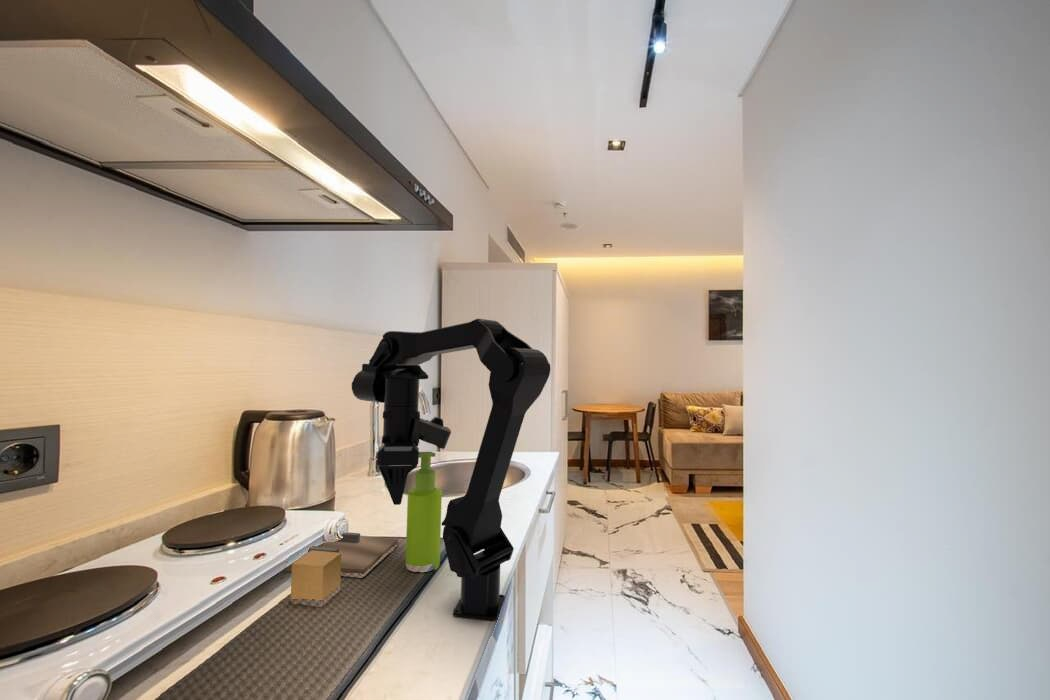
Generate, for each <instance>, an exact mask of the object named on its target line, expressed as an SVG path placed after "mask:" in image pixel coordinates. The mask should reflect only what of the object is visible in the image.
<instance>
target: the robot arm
mask: <svg viewBox="0 0 1050 700" xmlns="http://www.w3.org/2000/svg"><path fill="white" fill-rule="evenodd" d="M472 349H476V352H477V355H478V358H479V361H480V362H481V363H482V365H484V367H485V368H486V369H487V370H488V371H489V372H490V373H489V377H488V378H489V380H488V390H489V393H490V398H491V402H492V403H491V410H490V412H489V416H488V419H487V423H486V427H485V429H484V432H483V435H482V440H481V443H480V445H479V449H478V453H477V456H476V461H475V464H474V466H473V470H472V472H471V476H470V479H469V485H468V488H467V490H466V493H465V494H464V495H462V496H460V497H455V498H454V499H450V500H449V502H448V504H447V506H446V513H445V516H444V519H443V520H442V521H441V527H442V526H444V527H443V531H442V540H443V544H444V547H445V552H446V557H447V561H448V567H449V570H450V572H453V573H455V574H456V577H458V578H461V580H460V583H461V584H460V598H459V600H458V602H457V604H456V606H455V607H454V608H453V611H452V615H453V616H454V617H460V618H462V617H463V618H471V619H472V618H473V619H482V620H489V621H496V620H498V618H499V615H500V613H501V611H502V609H503V606H504V603H505V601H506V596H505V594H501V593H500V587H501V564H503V563H505V562H509V561H510V560H511V558H512V555H513V553H514V550H515V549H514V546H513V544H512V543H511V542H510V540H509V539H508V537H507V536H506V534H505V532H504V531H503V529H502V527H501V526H502V521H503V514H502V513H503V512H502V509H501V505H500V495H501V493H502V490H503V486H504V483H505V480H506V477H507V474H508V470H509V467H510V463H511V460H512V457H513V454H514V451H515V447H516V445H517V440H518V437H519V434H520V431H521V428H522V425H523V422H524V419H525V415H526V413H527V412H528V410H529V409H530V408H531V406H533V404H534V403H535V402H536V400H537V399H539V397H540V396H541V393H543V390H544V388H545V386H546V383H547V382H548V380H549V377H550V375H551V364H550V362H549V361H548V358H547V356H546V355H545V354H544V352H542V351H540V350H539V349H534V348H532V347H531V346H530V345H529V344H528V343H527V342H525V341H524V340H522V339H520V338H519V336H518V337H517V336H516V335H514V334H513V333H511V332H510V331H509V330H508V329H507V328H505V326H504V325H502V324H501V323H500V322H499V321H497V320H492V319H487V318H486V319H484V318H476V319H474V320H471V321H468V322H464V323H463V322H462V323H460V324H455V325H450V326H446V327H445V326H444V327H440V328H436V329H431V330H426V331H421V332H419V331H418V332H416V331H399V330H398V331H395V330H389V331H386V332H385V333H383V334H382V339H381V340H380V341H379V343H378V345H377V347H376V348H375V351H374V353H373V355H372V356H371V358H370V359H369V362H368V363H362V365H361V370H360V371H359V372H357V374H355V376H354V377H353V380H352V382H351V391H352V393H353V396H354V397H355V398H357V400H360V401H363V402H364V401H365V402H373V403H382V404H384V405H383V412H382V419H383V424H382V425H383V431H382V436H381V444H383V445H381V446H380V447H379V448H378V450H377V453H376V466H377V468H378V470H379V472H380V473H381V476H382V478H383V481H384V484H385V486H386V488H387V490H388V493H389V496H390V497H391V498H390V499H391V500H392V503H393V505H394V506H395V505H396V506H399V505H401V504H402V501H403V497H404V491H405V488H406V483H407V479H408V476H409V475H408V474H410V473H411V472H412V471H413V470H414V469H416V468H417V467H418V465H419V461H420V459H419V452H420V450H419V449H420V448H419V444H420V441H423V442H425V443H428V444H431V445H433V446H436V447H437V448H439V449H442V450H445V448H446V446H447V445H448V444H447V443H448V441H449V439H450V436H451V434H452V431H451V428H449V427H447V426H444V420H443V418H440V417H437V416H434V417H433V418H431V420H429V419H424V418H421V411H419V401H420V400H419V395H420V380H428V379H429V375H428V374H427V372H426V371H424V370H423V369H422V367H421V365H422V364H424V363H426V362H429V361H431V360H432V358H433V357H436V356H438V355H441V354H442V355H444V354H449V353H454V352H461V351H465V350H472Z"/></svg>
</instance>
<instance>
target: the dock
mask: <svg viewBox="0 0 1050 700" xmlns="http://www.w3.org/2000/svg"><path fill="white" fill-rule="evenodd" d="M345 532H346V533H343V534H342V536H343V538H342V539H341V540H338V541H335V542H326V543H323V544H321V545H319V546H317V547H316V546H312V547H310V548H309V550H308V552H310V551H312V550H314V551H325V552H336V553H341V572H343V573H344V572H345V573H359V574H360V573H361V574H364V573H365V572H366V571H367V570H368V569H370V568H371V567H372V566H373V565H374V564H375V563H376V562H377V561H378V560H379V559H380V558H381V557H382V556H383V555H384V554H385V553H387V552H388V551H389V550H390V549H391V548H392V547H394V546H395V545H396V544H397V543H398V544H399V538H391V537H381V536H370V535H368V536H367V535H361V533H358V532H348V531H345ZM284 570H285V572H289V573H292V565H290V566H289V567H288V568H287V569H286V568H285V569H284Z"/></svg>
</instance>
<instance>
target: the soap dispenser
mask: <svg viewBox="0 0 1050 700" xmlns="http://www.w3.org/2000/svg"><path fill="white" fill-rule="evenodd" d="M433 457H436V453H435V452H434V451H433V452H432V451H419V458H420V468H419V469H418V470H416V471H415V485H414V488H412V489H411V488H410V489H409V490H408V491H407V508H406V509H407V511H406V538H405V539H406V544H405V564H406V563H407V564H409V565H412V566H425V565H429V564H434V565H435V566H436V567H435V570H434V571H437V570H438V569H439V567H440V562H441V560H440V559H441V557H440V556H441V529H442V528H441V527H442V498H443V497H442V494H443V491H442V490H441V489H440V488H438V487H435V486H436V470H434V469H432V468H431V462H432V458H433Z"/></svg>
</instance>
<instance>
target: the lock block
mask: <svg viewBox="0 0 1050 700" xmlns="http://www.w3.org/2000/svg"><path fill="white" fill-rule="evenodd" d="M341 578H342V577H341V553H336V552H325V551H314V550H312V551H310V552H308V553H307V554H305V555H304V556H302V557H301V558H299V559H298V560H296V561H295V562H293V563H292V572H291V580H290V581H291V583H290V600H291V599H310V600H312V599H315V600H323V599H324V598H325V597H326V596H328V595H329V594H330V593H331V592H332V591H334V590H335V589H336V588H337V587H339V586H340V587H341Z"/></svg>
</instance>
